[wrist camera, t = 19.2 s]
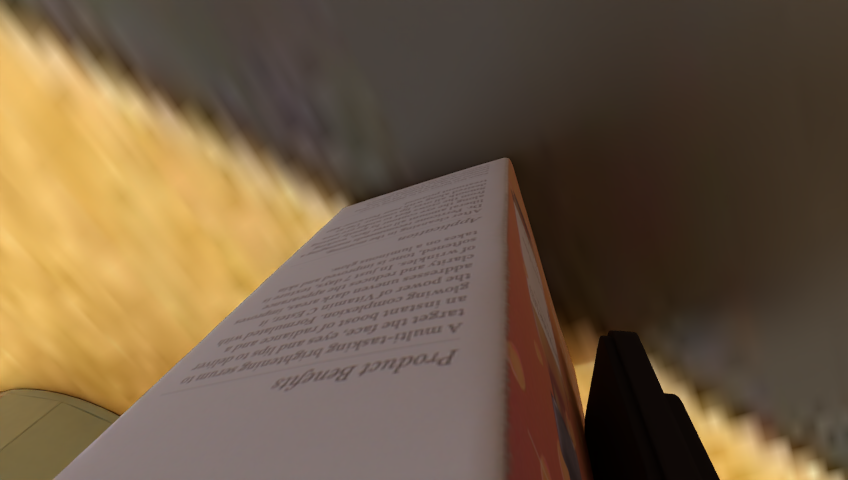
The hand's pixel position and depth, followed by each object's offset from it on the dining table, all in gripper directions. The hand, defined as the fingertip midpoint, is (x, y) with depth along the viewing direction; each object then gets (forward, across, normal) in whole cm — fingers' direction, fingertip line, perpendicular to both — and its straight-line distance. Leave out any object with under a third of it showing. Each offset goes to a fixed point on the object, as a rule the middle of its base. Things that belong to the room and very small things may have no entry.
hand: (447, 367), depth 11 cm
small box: (+4, 0, 0) cm, 4 cm away
